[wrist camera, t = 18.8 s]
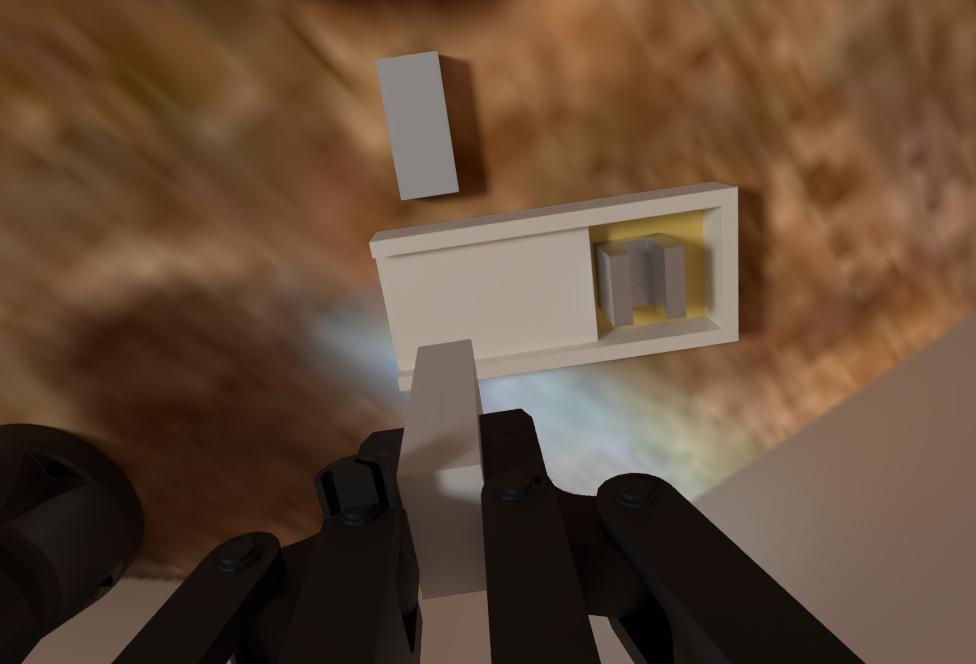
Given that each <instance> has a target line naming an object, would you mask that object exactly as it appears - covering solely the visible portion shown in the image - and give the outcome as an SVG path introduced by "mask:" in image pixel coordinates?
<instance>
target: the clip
mask: <svg viewBox="0 0 976 664" xmlns="http://www.w3.org/2000/svg"><path fill="white" fill-rule="evenodd" d="M593 249H594V260H595V272H596V284H597V296H598V307H599V308H600V310H601V311H602V312H603V313H604V315H605V316H606V317H607V319H608V320H609V321H610V322H611V324H612V325H613V326H614V327H615V328H616V327H623V326H629V325H634V320H633V307H639V306H646V305H652V306H653V307H654V308H655V309H656V310H657V311H658V312H659V313H661V314H662V315H663V316H664V317H665V318H666V319H667V320H669V319H676V318H682V317H686V288H685V258H684V245H682V244H680V243H678V242H676V241H674V240H673V239H671V238H669V237H667V236H665V235H663V234H661V233H655V234H648V235H642V236H635V237H628V238H622V239H615V240H608V241H602V242H595V243H593Z"/></svg>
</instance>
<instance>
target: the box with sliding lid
mask: <svg viewBox="0 0 976 664" xmlns="http://www.w3.org/2000/svg"><path fill="white" fill-rule="evenodd" d="M655 233H661V234H663V235H665V236H667V237H669V238H671V239H673V240H674V241H676V242H678V243H680V244H682V245H684V258H685V288H686V317H682V318H676V319H669V320H667V319H666V318H665V317H664V316H663V315H662V314H661V313H659V312H658V311H657V310H656V309H655V308H654V307H653V306H652V305H646V306H639V307H633V320H634V325H629V326H623V327H616V328H615V327H614V326H613V325H612V324H611V322H610V321H609V320H608V319H607V317H606V316H605V315H604V313H603V312H602V311H601V310H600V308H599V307H598V296H597V284H596V272H595V260H594V249H593V243H595V242H602V241H608V240H615V239H622V238H628V237H635V236H642V235H648V234H655ZM369 244H370V249H371V253H372V258H376V261H377V266H378V271H379V276H380V281H381V286H382V291H383V295H384V300H385V305H386V310H387V315H388V320H389V324H390V329H391V334H392V339H393V344H394V349H395V353H396V358H397V363H398V368H399V373H398V383H399V388H400V392H402V391H409V390H411V386H412V380H413V374H414V368H415V362H416V356H417V350H418V347H420V346H427V345H433V344H440V343H447V342H453V341H460V340H467V339H471V341H472V347H473V354H474V360H475V366H476V372H477V379H478V380H482V379H488V378H495V377H502V376H508V375H515V374H521V373H528V372H535V371H541V370H548V369H555V368H561V367H568V366H574V365H581V364H588V363H594V362H601V361H608V360H614V359H621V358H628V357H634V356H641V355H647V354H654V353H661V352H667V351H674V350H681V349H687V348H694V347H700V346H707V345H714V344H720V343H727V342H734V341H738V187H736V186H731V185H727V184H722V183H718V182H707V183H701V184H694V185H687V186H681V187H674V188H667V189H661V190H654V191H648V192H641V193H634V194H628V195H621V196H614V197H608V198H601V199H594V200H588V201H581V202H574V203H568V204H561V205H554V206H548V207H541V208H534V209H528V210H521V211H514V212H508V213H501V214H494V215H488V216H481V217H474V218H468V219H461V220H454V221H448V222H441V223H434V224H428V225H421V226H414V227H408V228H401V229H395V230H388V231H381V232H376V234H375V235H374V236H373V238H372V239H371V241H370V242H369Z"/></svg>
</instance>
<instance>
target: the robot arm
mask: <svg viewBox="0 0 976 664" xmlns="http://www.w3.org/2000/svg"><path fill="white" fill-rule="evenodd" d="M314 482H315V486H316V489H317V493H318V497H319V500H320V504H321V508H322V511H323V515H324V518H325V519H324V522H323V525H322V528H321V531H320V532H319V533H318V534H316V535H314V536H312V537H309V538H307V539H305V540H302V541H299V542H297V543H294V544H291V545H288V546H285V547H283V548H281V546H280V543H279V540H278V538H277V537H275V536H274V535H273V534H272V533H266V532H252V533H246V534H242V535H240V536H236V537H233V538H231V539H229V540H228V541H226V542H224V543H222V544H221V545H219V546H217V547H216V548H215V549H214V550H213V551H212V552H210V553H209V554H208V555H207V556H206V557H205V558H204V559H203V560H202V561H201V563H200V564H199V565H198V566H197V567H196V568H195V569H194V570H193V572H192V573H191V574H190V575H189V576H188V577H187V578H186V580H185V581H184V582H183V583H182V584H181V585H180V586H179V588H178V589H177V590H176V591H175V592H174V593H173V594H172V595H171V597H170V598H169V599H168V600H167V601H166V602H165V603H164V605H163V606H162V607H161V608H160V609H159V610H158V612H157V613H156V614H155V615H154V616H153V617H152V618H151V619H150V620H149V622H148V623H147V624H146V625H145V626H144V627H143V628H142V629H141V631H140V632H139V633H138V634H137V635H136V636H135V637H134V639H133V640H132V641H131V642H130V643H129V644H128V645H127V646H126V648H125V649H124V650H123V651H122V652H121V654H119V656H118V657H117V658H116V659H115V660H114V661H113V662H112V663H111V664H226V663H227V662H228V660H229V659H230V661H231V664H420V653H421V637H422V616H421V611H420V606H419V602H418V588H419V582H420V586H421V591H422V595H423V599H429V598H436V597H442V596H449V595H455V594H462V593H469V592H475V591H482V590H487V600H488V614H489V631H490V645H491V661H492V664H601V662H600V658H599V654H598V651H597V647H596V643H595V639H594V636H593V632H592V628H591V625H590V621H589V617H588V615H596V616H604V617H608V619H609V622H610V624H611V627H612V629H613V631H614V632H615V634H616V635H617V637H618V638H619V640H620V642H621V643H622V645H623V646H624V648H625V649H626V651H627V652H628V654H629V655H630V657H631V659H632V660H633V662H634V663H635V664H865V663H864V662H863V661H862V660H861V659H860V658H859V657H858V656H857V655H856V654H854V653H853V652H852V651H851V650H850V649H849V648H848V647H847V646H846V645H845V644H844V643H842V642H841V641H840V640H839V639H838V638H837V637H836V636H835V635H834V634H833V633H831V631H829V630H828V629H827V628H826V627H825V626H824V625H823V624H822V623H821V622H820V621H819V620H817V619H816V618H815V617H814V616H813V615H812V614H811V613H810V612H809V611H808V610H807V609H805V608H804V607H803V606H802V605H801V604H800V603H799V602H798V601H797V600H796V599H794V597H792V596H791V595H790V594H789V593H788V592H787V591H786V590H785V589H784V588H783V587H782V586H780V585H779V584H778V583H777V582H776V581H775V580H774V579H773V578H772V577H771V576H770V575H768V574H767V573H766V572H765V571H764V570H763V569H762V568H761V567H760V566H759V565H758V564H756V563H755V562H754V561H753V560H752V559H751V558H750V557H749V556H748V555H747V554H745V553H744V552H743V551H742V550H741V549H740V548H739V547H738V546H737V545H736V544H735V543H734V542H733V541H731V540H730V539H729V538H728V537H727V536H726V535H725V534H724V533H723V532H721V531H720V530H719V529H718V528H717V527H716V526H715V525H714V524H713V523H712V522H711V521H710V520H709V519H707V518H706V517H705V516H704V515H703V514H702V513H701V512H700V511H699V510H698V509H697V508H695V507H694V506H693V505H692V504H691V503H690V502H689V501H688V500H687V499H686V498H685V497H683V496H682V495H681V494H680V493H679V492H678V491H677V490H676V489H675V488H674V487H673V486H672V485H670V484H669V483H667V482H666V481H664V480H663V479H661V478H659V477H656V476H652V475H649V474H643V473H628V474H622V475H617V476H615V477H612V478H610V479H608V480H606V481H605V482H604V483H603V484H602V485H601V486H600V487H599V488H598V492H597V496H585V495H577V494H572V493H569V492H565V491H563V490H561V489H559V488H557V487H556V486H555V485H553V483H552V481H551V480H550V478H549V477H548V476H547V472H546V468H545V464H544V461H543V457H542V453H541V449H540V445H539V442H538V438H537V434H536V431H535V426H534V422H533V419H532V417H531V416H530V415H528V414H527V413H526V412H525V411H523V410H522V409H514V410H508V411H501V412H494V413H488V414H483V410H482V404H481V397H480V391H479V385H478V379H477V372H476V366H475V360H474V354H473V347H472V341H471V339H467V340H460V341H453V342H447V343H440V344H433V345H427V346H420V347H418V350H417V356H416V362H415V368H414V374H413V380H412V386H411V392H410V398H409V404H408V410H407V416H406V422H405V428H399V429H392V430H386V431H379V432H373V433H372V434H371V435H370V436H369V437H368V438H367V439H366V440H365V441H364V442H363V443H362V444H361V446H360V449H359V453H358V455H353V456H349V457H345V458H342V459H340V460H337V461H335V462H333V463H331V464H329V465H328V466H326V467H325V468H324V469H322V470H321V471H320V472H319V473H318V474H317V476H316V477H315V479H314ZM143 529H144V524H143V515H142V510H141V506H140V503H139V500H138V498H137V496H136V493H135V492H134V490H133V488H132V486H131V485H130V483H129V481H128V480H127V479H126V477H125V476H124V475H123V474H122V472H121V471H120V470H119V469H118V468H117V467H116V466H115V465H114V464H113V463H112V462H111V461H110V460H109V459H108V458H106V457H105V456H104V455H103V454H101V453H100V452H99V451H97V450H96V449H94V448H93V447H91V446H90V445H88V444H86V443H84V442H82V441H81V440H79V439H76V438H74V437H72V436H70V435H67V434H65V433H62V432H59V431H56V430H52V429H48V428H44V427H39V426H32V425H15V424H13V425H0V664H21V663H22V662H23V661H24V660H25V658H26V657H27V656H28V655H29V653H30V652H31V651H32V650H33V648H34V647H35V646H36V645H37V643H38V642H39V641H40V640H41V639H42V638H43V637H45V636H46V635H48V634H49V633H51V632H52V631H54V630H55V629H57V628H58V627H59V626H61V625H63V624H64V623H65V622H67V621H68V620H70V619H71V618H73V617H74V616H76V615H77V614H79V613H80V612H81V611H83V610H85V609H86V608H87V607H89V606H90V605H92V604H93V603H95V602H96V601H98V600H99V599H100V598H102V597H103V596H104V595H105V594H107V593H108V592H109V591H110V590H111V589H112V588H113V587H114V586H115V585H116V584H117V582H118V581H119V580H120V579H121V577H122V576H123V575H124V573H125V572H126V570H127V569H128V568H129V566H130V565H131V564H132V562H133V561H134V559H135V557H136V556H137V554H138V551H139V549H140V546H141V543H142V538H143Z"/></svg>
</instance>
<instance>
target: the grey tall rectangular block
mask: <svg viewBox="0 0 976 664" xmlns="http://www.w3.org/2000/svg"><path fill="white" fill-rule="evenodd" d="M375 62H376V67H377V72H378V78H379V83H380V89H381V94H382V99H383V105H384V110H385V115H386V121H387V126H388V132H389V137H390V142H391V148H392V153H393V158H394V164H395V169H396V174H397V180H398V185H399V191H400V196H401V200H407V199H414V198H420V197H427V196H434V195H440V194H447V193H454V192H459V186H458V180H457V173H456V167H455V160H454V154H453V147H452V141H451V134H450V128H449V121H448V115H447V108H446V102H445V95H444V89H443V82H442V76H441V69H440V63H439V56H438V52H437V51H432V52H426V53H419V54H412V55H406V56H399V57H392V58H385V59H379V60H375Z"/></svg>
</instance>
